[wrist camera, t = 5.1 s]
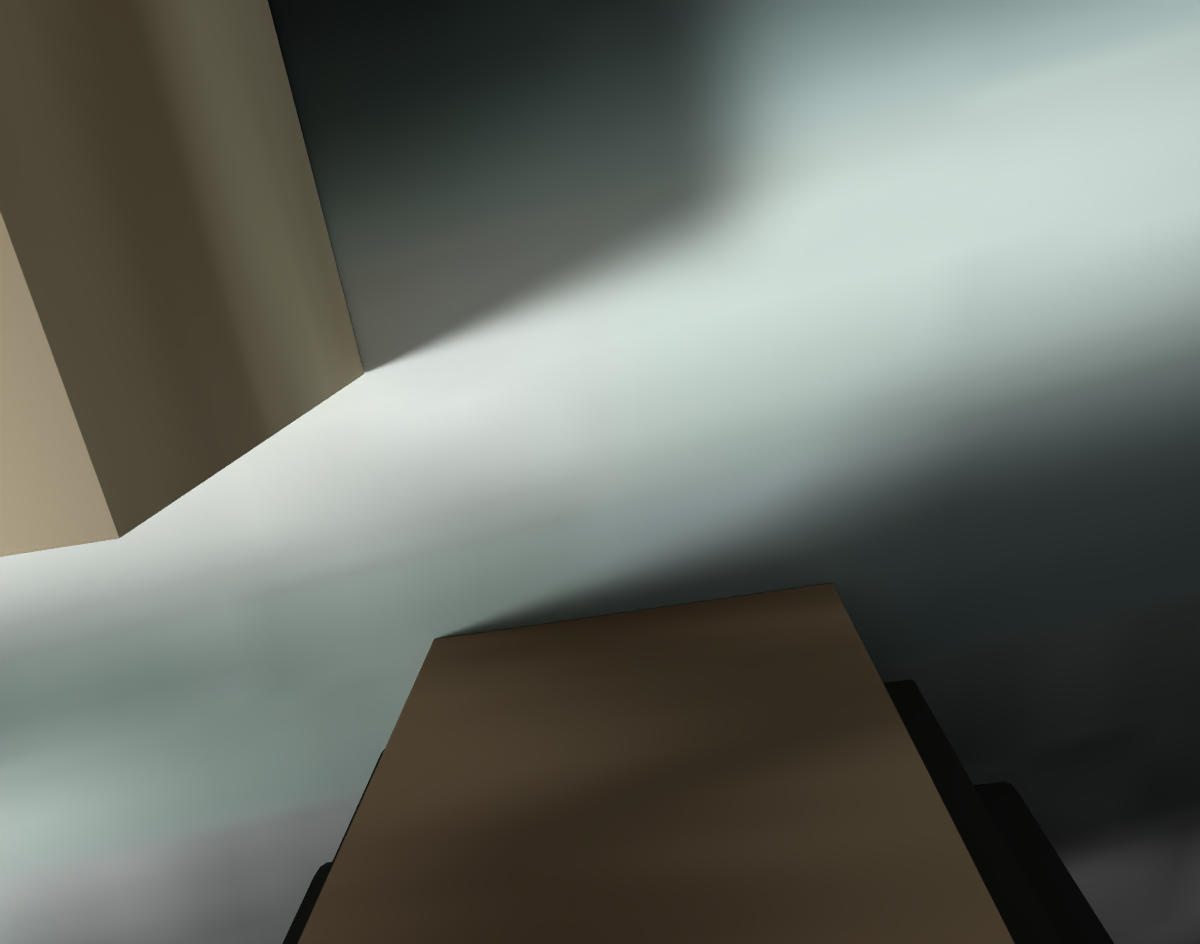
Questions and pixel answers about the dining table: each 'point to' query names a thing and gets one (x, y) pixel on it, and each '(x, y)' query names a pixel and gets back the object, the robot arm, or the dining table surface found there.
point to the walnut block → (655, 792)
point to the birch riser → (151, 260)
